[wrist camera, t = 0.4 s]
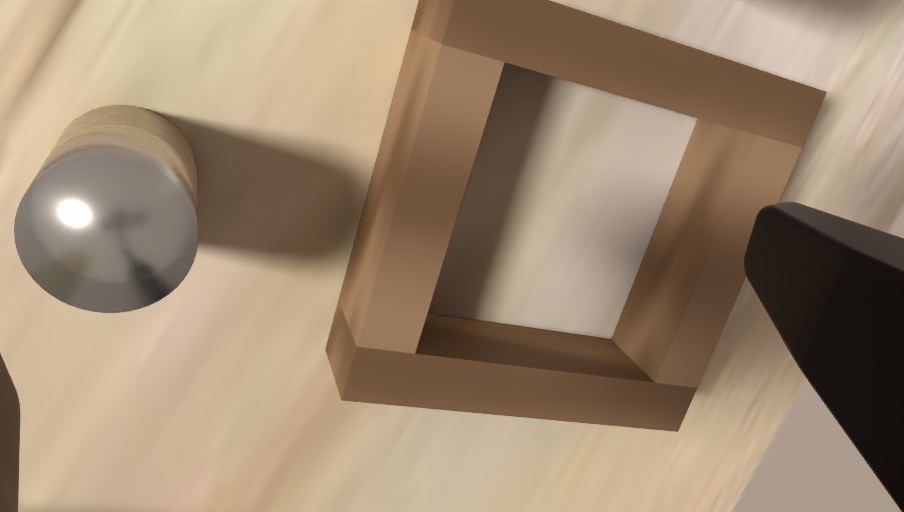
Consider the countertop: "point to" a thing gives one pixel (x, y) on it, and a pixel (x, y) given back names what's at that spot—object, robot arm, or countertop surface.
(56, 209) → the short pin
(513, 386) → the socket block
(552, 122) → the countertop surface
